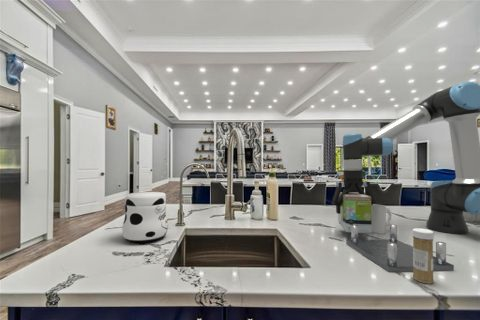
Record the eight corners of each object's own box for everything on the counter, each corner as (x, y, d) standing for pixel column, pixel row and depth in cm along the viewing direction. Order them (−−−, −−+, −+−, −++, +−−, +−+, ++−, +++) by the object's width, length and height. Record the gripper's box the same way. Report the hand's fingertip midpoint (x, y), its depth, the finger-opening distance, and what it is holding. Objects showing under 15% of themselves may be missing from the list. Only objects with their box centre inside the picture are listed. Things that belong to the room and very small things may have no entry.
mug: (374, 234, 107) (374, 206, 107) (365, 229, 113) (365, 204, 113) (396, 233, 107) (396, 206, 107) (386, 229, 114) (386, 204, 114)
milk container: (176, 238, 99) (176, 194, 100) (133, 249, 87) (134, 198, 87) (155, 229, 111) (155, 190, 111) (115, 238, 99) (115, 194, 99)
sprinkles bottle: (438, 283, 63) (438, 231, 64) (424, 285, 62) (424, 232, 63) (421, 275, 68) (421, 227, 68) (408, 277, 67) (408, 228, 67)
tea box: (372, 233, 96) (371, 196, 96) (345, 232, 98) (344, 196, 98) (361, 223, 111) (360, 191, 111) (338, 223, 113) (337, 191, 113)
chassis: (395, 242, 95) (395, 223, 95) (453, 270, 71) (453, 244, 71) (346, 243, 94) (346, 224, 94) (388, 272, 70) (388, 246, 70)
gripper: (373, 168, 109) (374, 217, 109) (322, 169, 107) (323, 219, 107) (384, 169, 102) (385, 221, 101) (330, 170, 100) (331, 223, 100)
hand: (353, 220), depth 104 cm, fingers closed on tea box, 11 cm apart
